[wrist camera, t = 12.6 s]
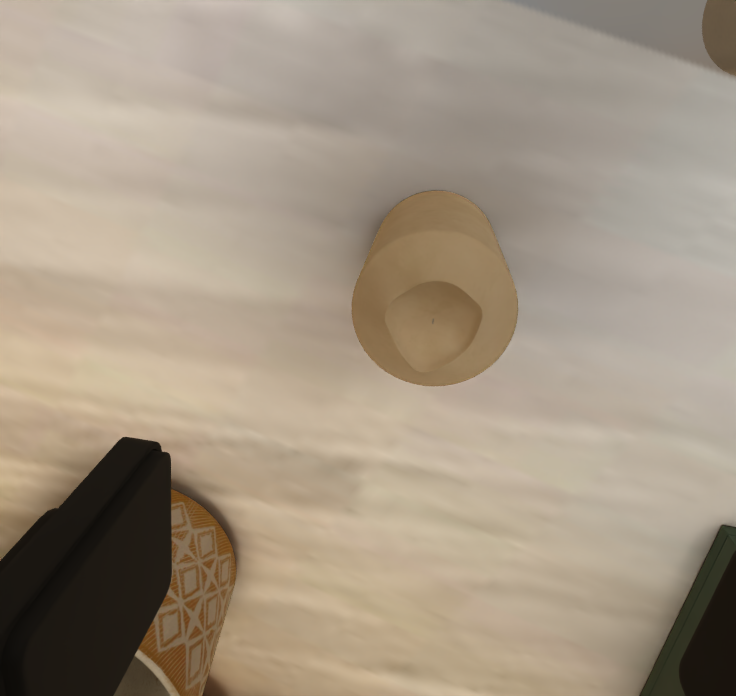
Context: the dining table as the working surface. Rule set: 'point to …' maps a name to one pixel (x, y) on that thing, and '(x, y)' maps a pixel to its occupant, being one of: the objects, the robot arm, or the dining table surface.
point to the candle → (435, 292)
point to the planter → (186, 608)
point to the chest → (690, 617)
